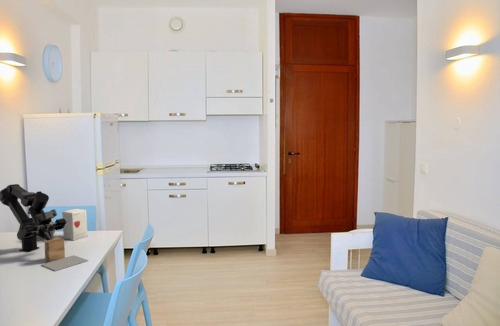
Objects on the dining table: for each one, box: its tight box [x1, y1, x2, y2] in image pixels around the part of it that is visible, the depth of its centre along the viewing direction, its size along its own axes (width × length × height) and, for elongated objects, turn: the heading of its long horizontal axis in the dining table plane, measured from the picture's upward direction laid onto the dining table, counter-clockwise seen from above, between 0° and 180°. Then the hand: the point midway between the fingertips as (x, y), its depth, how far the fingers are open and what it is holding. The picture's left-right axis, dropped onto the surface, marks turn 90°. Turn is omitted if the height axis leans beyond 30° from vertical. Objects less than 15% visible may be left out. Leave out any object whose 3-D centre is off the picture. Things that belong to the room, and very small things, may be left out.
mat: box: [40, 254, 89, 272], centre depth 176 cm, size 12×15×1 cm
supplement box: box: [61, 208, 88, 241], centre depth 216 cm, size 9×9×15 cm
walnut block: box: [44, 237, 66, 263], centre depth 181 cm, size 4×7×9 cm, turn 144°
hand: (52, 242), depth 181 cm, fingers closed
